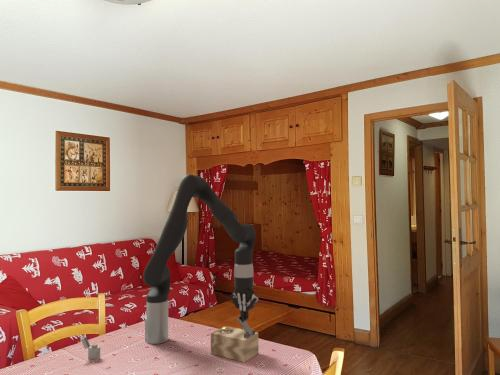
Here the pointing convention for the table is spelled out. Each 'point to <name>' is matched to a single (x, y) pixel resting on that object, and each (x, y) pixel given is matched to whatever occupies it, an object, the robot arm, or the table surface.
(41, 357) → the table surface
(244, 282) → the robot arm
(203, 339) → the table surface
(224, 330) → the pin
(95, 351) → the lighter
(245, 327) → the grey handle
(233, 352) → the block
